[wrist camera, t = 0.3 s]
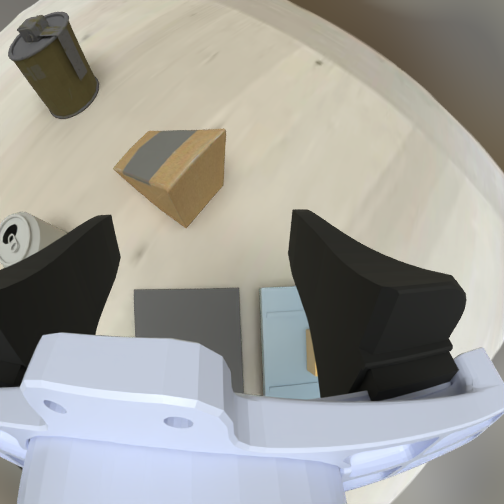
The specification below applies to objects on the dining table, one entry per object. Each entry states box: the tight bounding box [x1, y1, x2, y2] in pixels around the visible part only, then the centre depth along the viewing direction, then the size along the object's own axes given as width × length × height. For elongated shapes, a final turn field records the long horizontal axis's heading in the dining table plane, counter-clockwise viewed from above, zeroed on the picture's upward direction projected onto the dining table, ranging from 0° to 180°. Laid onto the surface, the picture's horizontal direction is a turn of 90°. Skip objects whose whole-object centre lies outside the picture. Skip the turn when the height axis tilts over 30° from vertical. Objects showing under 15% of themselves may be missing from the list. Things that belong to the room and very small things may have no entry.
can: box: [0, 212, 67, 268], centre depth 32 cm, size 8×8×12 cm
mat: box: [134, 288, 244, 394], centre depth 38 cm, size 16×14×1 cm
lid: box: [259, 286, 320, 400], centre depth 34 cm, size 15×11×5 cm
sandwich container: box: [113, 129, 226, 228], centre depth 34 cm, size 9×15×15 cm, turn 52°
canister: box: [8, 12, 99, 119], centre depth 32 cm, size 11×10×20 cm
